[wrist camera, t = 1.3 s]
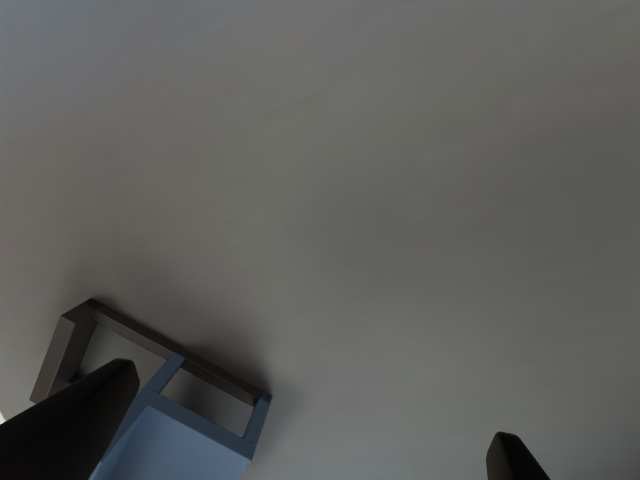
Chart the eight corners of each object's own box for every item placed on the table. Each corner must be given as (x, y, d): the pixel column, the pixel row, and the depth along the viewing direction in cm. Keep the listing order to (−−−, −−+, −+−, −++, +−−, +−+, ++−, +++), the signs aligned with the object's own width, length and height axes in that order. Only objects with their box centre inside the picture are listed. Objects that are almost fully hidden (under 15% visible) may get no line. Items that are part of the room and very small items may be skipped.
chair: (60, 375, 25) (-84, 488, 17) (91, 297, 23) (-54, 381, 15) (228, 465, 26) (169, 615, 17) (272, 396, 24) (229, 529, 16)
